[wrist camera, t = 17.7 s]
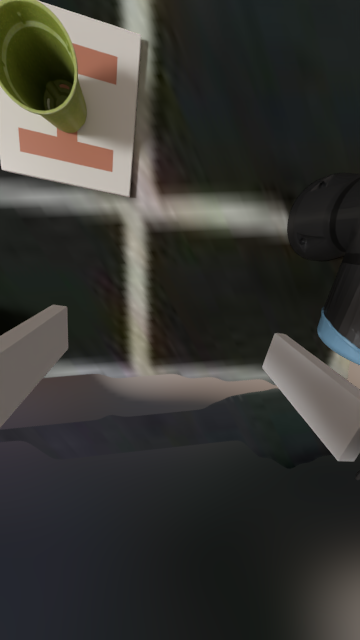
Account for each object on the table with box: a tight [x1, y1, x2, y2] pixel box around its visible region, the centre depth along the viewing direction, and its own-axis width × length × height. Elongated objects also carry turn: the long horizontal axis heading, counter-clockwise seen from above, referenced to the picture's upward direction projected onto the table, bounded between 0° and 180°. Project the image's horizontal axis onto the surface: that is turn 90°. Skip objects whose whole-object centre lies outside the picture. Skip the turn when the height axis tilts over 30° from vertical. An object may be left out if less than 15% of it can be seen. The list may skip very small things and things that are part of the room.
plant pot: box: [0, 0, 87, 133], centre depth 26 cm, size 9×9×9 cm
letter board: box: [0, 0, 141, 197], centre depth 31 cm, size 20×20×1 cm
